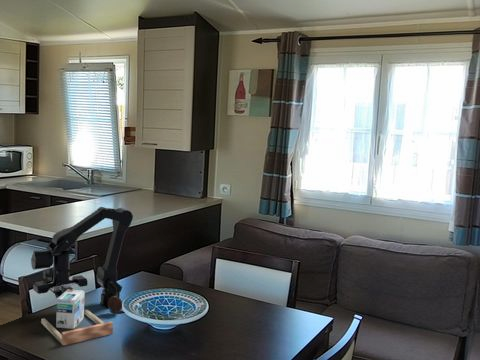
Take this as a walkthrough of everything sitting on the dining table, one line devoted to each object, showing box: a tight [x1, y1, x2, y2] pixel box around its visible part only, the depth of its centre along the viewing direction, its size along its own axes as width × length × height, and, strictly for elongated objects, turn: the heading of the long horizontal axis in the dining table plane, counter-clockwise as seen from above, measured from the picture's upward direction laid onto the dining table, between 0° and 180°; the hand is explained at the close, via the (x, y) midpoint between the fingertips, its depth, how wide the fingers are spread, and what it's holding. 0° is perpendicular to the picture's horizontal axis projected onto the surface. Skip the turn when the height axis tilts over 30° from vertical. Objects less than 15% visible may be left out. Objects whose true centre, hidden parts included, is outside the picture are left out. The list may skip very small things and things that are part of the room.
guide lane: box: [40, 309, 114, 346], centre depth 173 cm, size 17×22×4 cm
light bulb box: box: [55, 289, 86, 330], centre depth 177 cm, size 11×7×11 cm, turn 179°
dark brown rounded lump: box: [107, 296, 124, 314], centre depth 191 cm, size 8×8×7 cm
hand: (60, 305), depth 185 cm, fingers closed
